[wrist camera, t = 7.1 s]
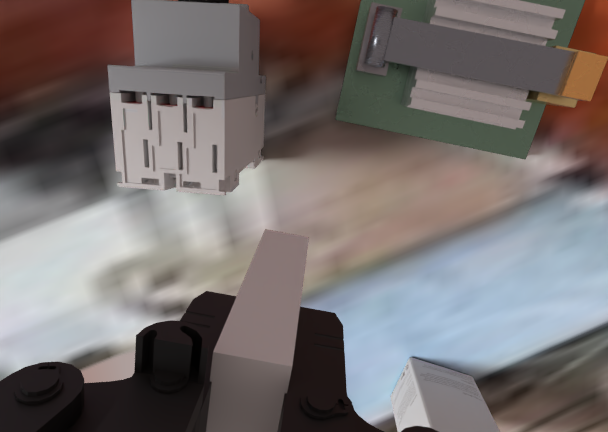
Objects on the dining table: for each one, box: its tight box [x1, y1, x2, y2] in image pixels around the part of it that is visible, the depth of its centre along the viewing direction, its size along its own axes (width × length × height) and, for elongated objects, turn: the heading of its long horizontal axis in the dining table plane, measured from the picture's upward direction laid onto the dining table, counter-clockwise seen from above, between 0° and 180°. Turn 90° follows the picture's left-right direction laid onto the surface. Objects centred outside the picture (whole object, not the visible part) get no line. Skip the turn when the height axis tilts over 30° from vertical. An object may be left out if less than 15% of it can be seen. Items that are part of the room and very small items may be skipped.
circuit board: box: [335, 0, 595, 159], centre depth 34 cm, size 18×14×7 cm
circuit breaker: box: [108, 0, 266, 195], centre depth 33 cm, size 8×14×15 cm, turn 176°
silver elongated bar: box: [364, 6, 608, 101], centre depth 30 cm, size 16×4×2 cm, turn 79°
